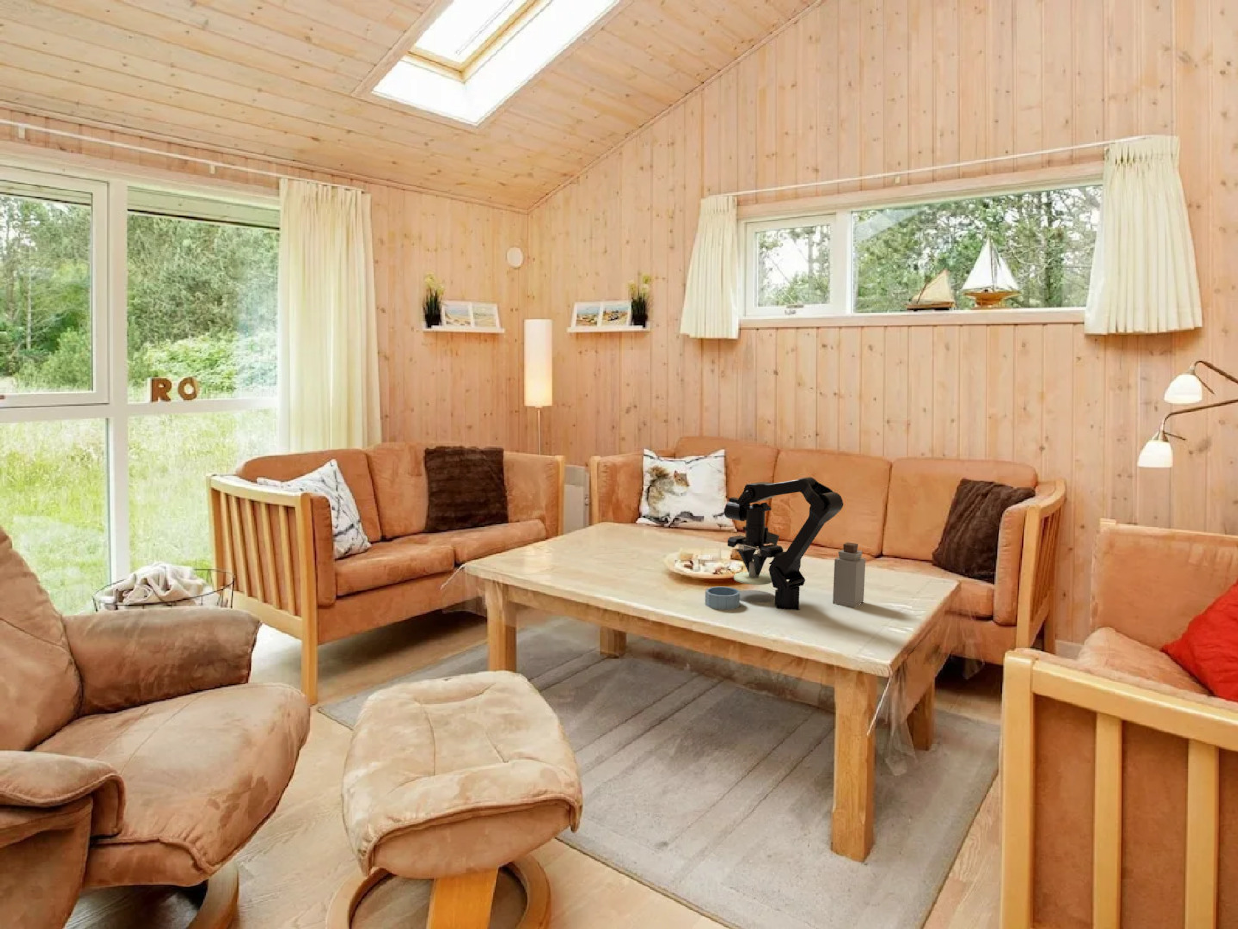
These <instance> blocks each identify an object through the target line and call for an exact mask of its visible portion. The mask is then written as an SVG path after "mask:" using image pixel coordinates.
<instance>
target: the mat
mask: <svg viewBox="0 0 1238 929" xmlns="http://www.w3.org/2000/svg"><path fill="white" fill-rule="evenodd" d="M739 591H740V602H745V603H753V604H754V603H755V604H760V603H761V604H762V603H770V602H773V601H775V594H773V593H770V592H768V591H763V590H758V589H757V590H756V589H754V590H753V589H745V590H739Z"/></svg>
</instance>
